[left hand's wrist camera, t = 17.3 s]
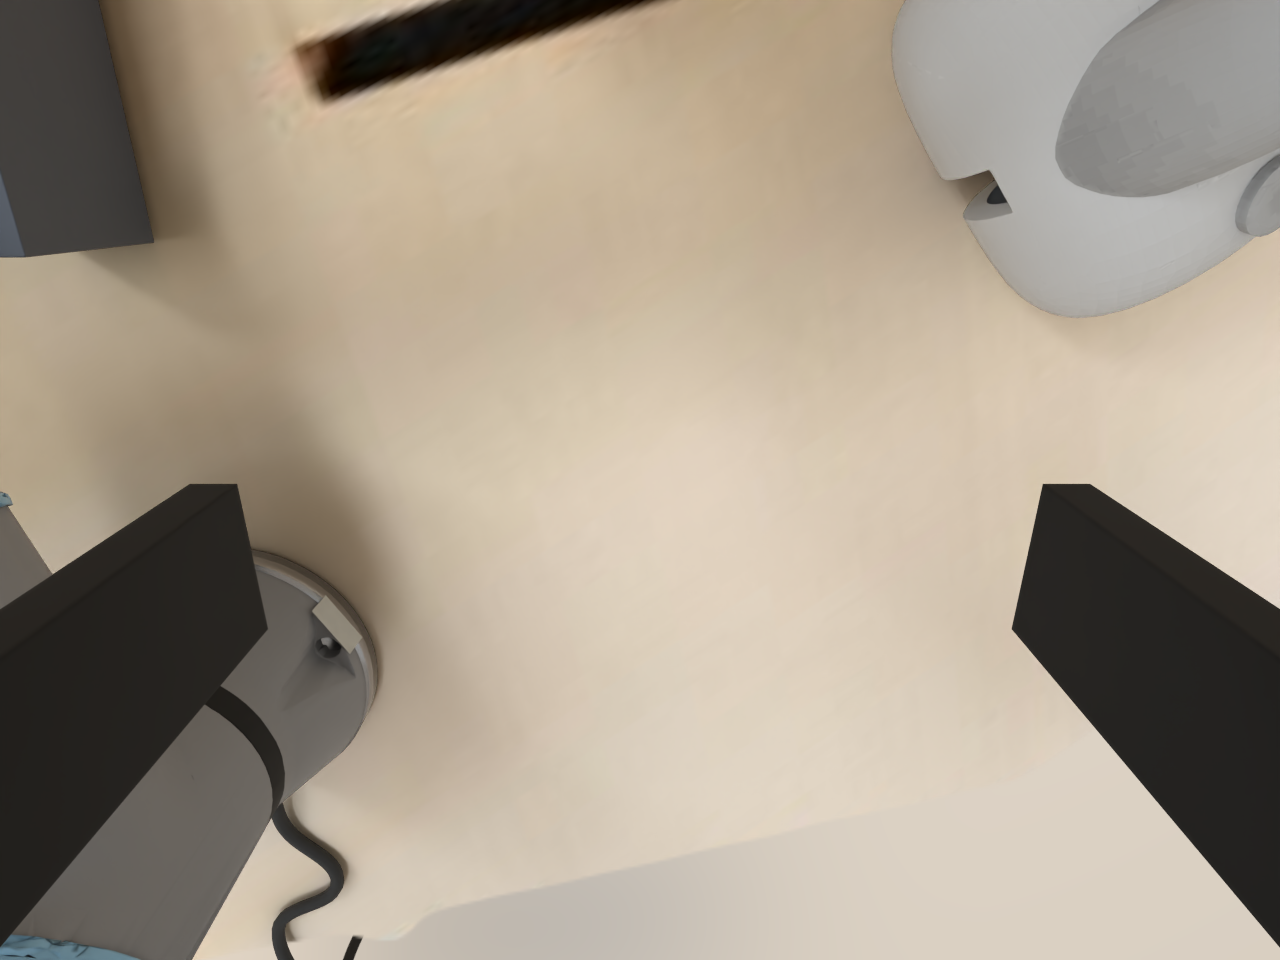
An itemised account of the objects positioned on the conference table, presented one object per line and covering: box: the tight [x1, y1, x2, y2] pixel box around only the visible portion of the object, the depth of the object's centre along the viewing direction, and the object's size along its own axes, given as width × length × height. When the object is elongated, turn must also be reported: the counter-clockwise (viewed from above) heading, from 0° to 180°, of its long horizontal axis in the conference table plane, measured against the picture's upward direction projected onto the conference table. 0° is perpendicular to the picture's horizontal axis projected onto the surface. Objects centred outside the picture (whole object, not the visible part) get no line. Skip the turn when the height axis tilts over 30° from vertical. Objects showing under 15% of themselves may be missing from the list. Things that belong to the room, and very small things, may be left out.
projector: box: [892, 0, 1280, 318], centre depth 26 cm, size 22×23×15 cm
